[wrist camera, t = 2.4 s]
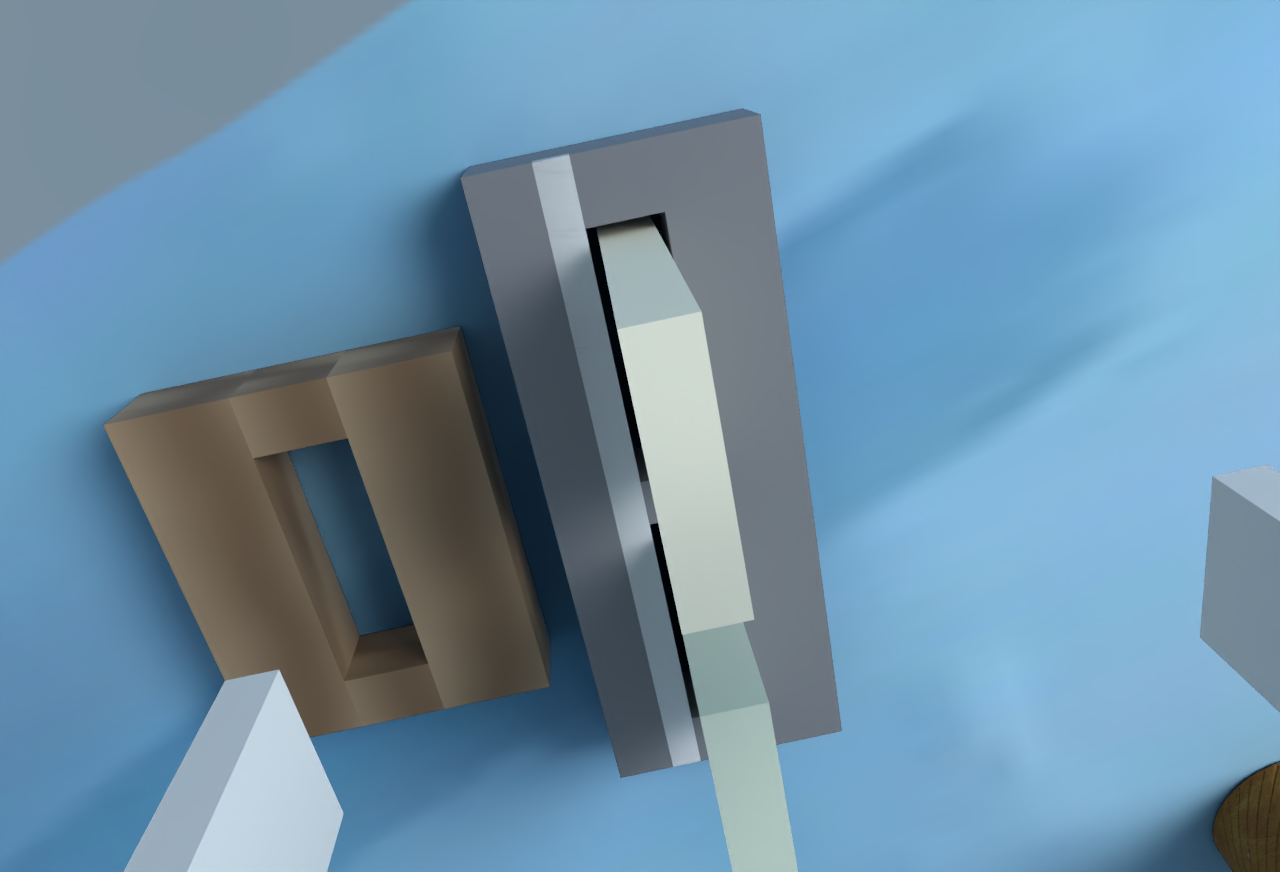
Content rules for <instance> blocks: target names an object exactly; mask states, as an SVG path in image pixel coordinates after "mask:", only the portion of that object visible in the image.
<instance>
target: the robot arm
mask: <svg viewBox="0 0 1280 872" xmlns="http://www.w3.org/2000/svg"><path fill="white" fill-rule="evenodd" d="M1200 638H1201V639H1202V640H1203V641H1204V642H1205V643H1206V644H1207V645H1209V646H1210V647H1211V648H1212V649H1213V650H1214V651H1215V652H1216V653H1217V654H1218V655H1219V656H1220V657H1221V658H1222V659H1223V660H1224V661H1226V662H1227V663H1228V664H1229V665H1230V666H1231V667H1232V668H1233V669H1234V670H1235V671H1236V672H1237V673H1238V674H1239V675H1240V676H1241V677H1243V678H1244V679H1245V680H1246V681H1247V682H1248V683H1249V684H1250V685H1251V686H1252V687H1253V688H1254V689H1255V690H1256V691H1257V692H1258V693H1260V694H1261V695H1262V696H1263V697H1264V698H1265V699H1266V700H1267V701H1268V702H1269V703H1270V704H1271V705H1272V706H1273V707H1274V708H1275V709H1277V710H1278V711H1279V712H1280V472H1279V471H1277V470H1275V469H1274V468H1272V467H1270V466H1269V465H1264V466H1259V467H1254V468H1249V469H1245V470H1240V471H1235V472H1230V473H1225V474H1220V475H1216V476H1213V477H1212V490H1211V503H1210V515H1209V528H1208V541H1207V554H1206V566H1205V579H1204V592H1203V604H1202V617H1201V630H1200ZM343 814H344V813H343V811H342V809H341V807H340V804H339V802H338V800H337V798H336V795H335V793H334V791H333V789H332V786H331V784H330V782H329V780H328V777H327V775H326V773H325V771H324V769H323V766H322V764H321V762H320V760H319V757H318V755H317V753H316V751H315V748H314V746H313V744H312V742H311V740H310V737H309V735H308V733H307V731H306V728H305V726H304V724H303V722H302V719H301V717H300V715H299V713H298V711H297V708H296V706H295V704H294V702H293V699H292V697H291V695H290V693H289V690H288V688H287V686H286V684H285V682H284V679H283V677H282V675H281V673H280V670H274V671H269V672H264V673H260V674H255V675H250V676H245V677H240V678H236V679H231V680H226V681H225V682H224V684H223V686H222V688H221V689H220V691H219V693H218V695H217V697H216V699H215V701H214V703H213V704H212V706H211V708H210V710H209V712H208V714H207V716H206V718H205V720H204V721H203V723H202V725H201V727H200V729H199V731H198V733H197V735H196V736H195V738H194V740H193V742H192V744H191V746H190V748H189V750H188V752H187V753H186V755H185V757H184V759H183V761H182V763H181V765H180V767H179V768H178V770H177V772H176V774H175V776H174V778H173V780H172V782H171V784H170V785H169V787H168V789H167V791H166V793H165V795H164V797H163V799H162V801H161V802H160V804H159V806H158V808H157V810H156V812H155V814H154V816H153V817H152V819H151V821H150V823H149V825H148V827H147V829H146V831H145V833H144V834H143V836H142V838H141V840H140V842H139V844H138V846H137V848H136V849H135V851H134V853H133V855H132V857H131V859H130V861H129V863H128V865H127V866H126V868H125V870H124V872H327V870H328V866H329V863H330V859H331V856H332V852H333V849H334V845H335V842H336V838H337V835H338V831H339V828H340V824H341V821H342V817H343Z"/></svg>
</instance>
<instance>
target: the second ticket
mask: <svg viewBox="0 0 1280 872" xmlns="http://www.w3.org/2000/svg"><path fill="white" fill-rule="evenodd" d="M683 639H684V644H685V649H686V653H687V658H688V663H689V668H690V672H691V677H692V682H693V687H694V691H695V696H696V701H697V706H698V710H699V715H700V720H701V725H702V729H703V734H704V739H705V743H706V748H707V753H708V758H709V762H710V767H711V772H712V776H713V781H714V786H715V791H716V795H717V800H718V805H719V809H720V814H721V819H722V824H723V828H724V833H725V838H726V842H727V847H728V852H729V856H730V861H731V866H732V871H733V872H798V869H797V863H796V857H795V851H794V845H793V840H792V834H791V828H790V822H789V816H788V810H787V804H786V799H785V793H784V787H783V781H782V775H781V769H780V764H779V758H778V752H777V746H776V740H775V734H774V729H773V723H772V717H771V711H770V705H769V701H768V698H767V695H766V691H765V688H764V685H763V682H762V679H761V676H760V673H759V670H758V667H757V663H756V660H755V657H754V654H753V651H752V648H751V645H750V642H749V639H748V635H747V632H746V629H745V626H744V623H743V622H741V623H737V624H732V625H727V626H722V627H718V628H713V629H708V630H703V631H699V632H694V633H689V634H684V635H683Z"/></svg>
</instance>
